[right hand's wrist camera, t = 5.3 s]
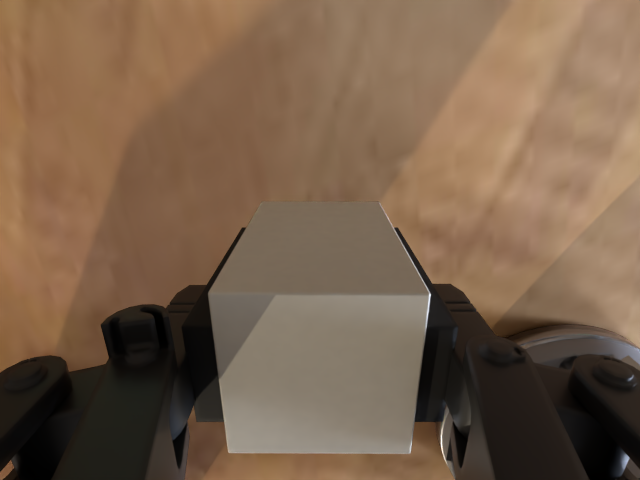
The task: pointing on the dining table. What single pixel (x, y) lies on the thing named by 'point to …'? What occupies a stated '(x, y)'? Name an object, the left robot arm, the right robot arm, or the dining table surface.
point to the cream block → (319, 332)
